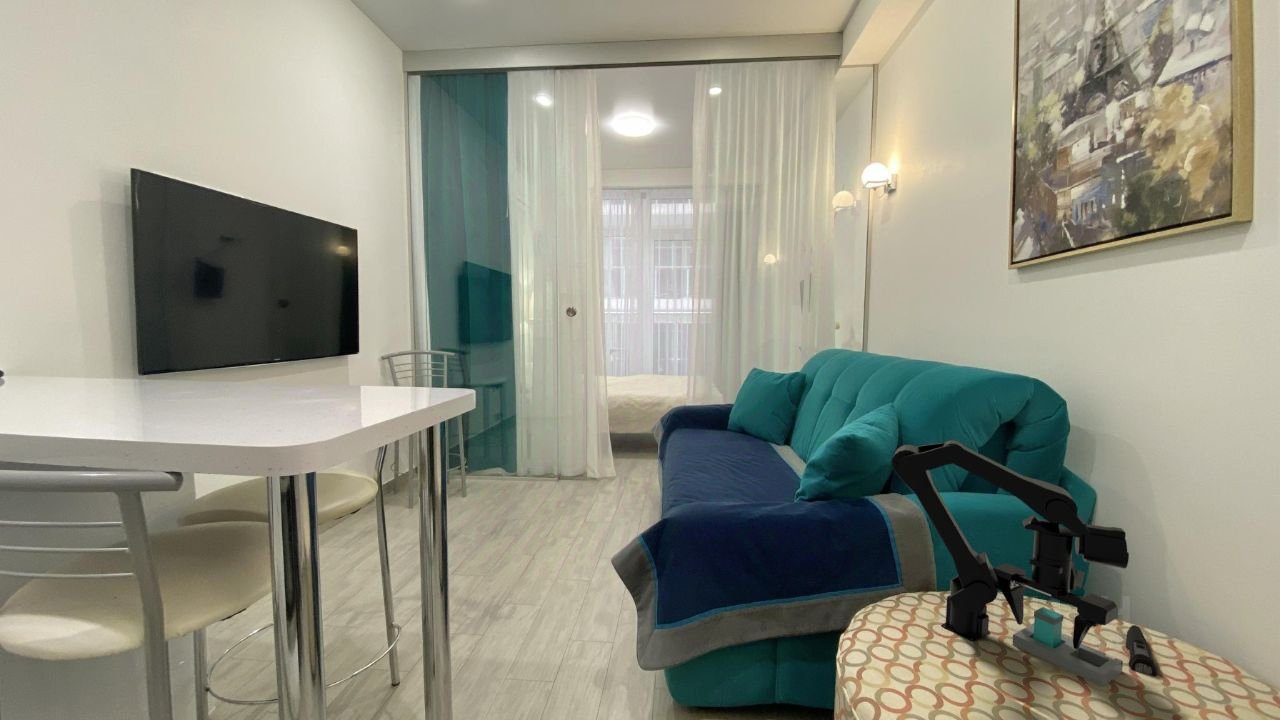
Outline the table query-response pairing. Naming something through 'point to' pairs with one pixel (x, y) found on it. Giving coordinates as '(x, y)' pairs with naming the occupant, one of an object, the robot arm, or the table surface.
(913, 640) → the table surface
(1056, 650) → the grey flat block
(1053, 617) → the plug
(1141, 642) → the electric trimmer
